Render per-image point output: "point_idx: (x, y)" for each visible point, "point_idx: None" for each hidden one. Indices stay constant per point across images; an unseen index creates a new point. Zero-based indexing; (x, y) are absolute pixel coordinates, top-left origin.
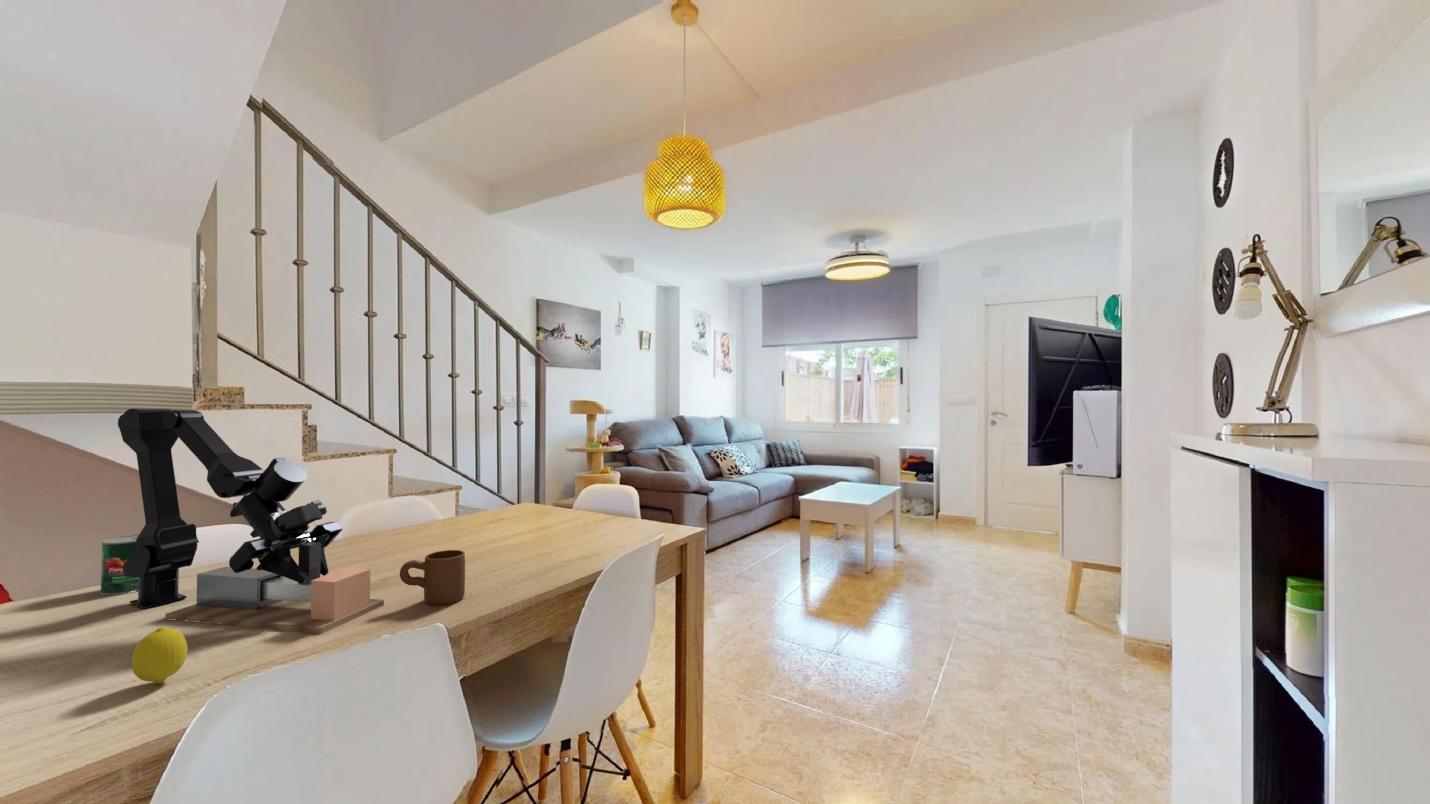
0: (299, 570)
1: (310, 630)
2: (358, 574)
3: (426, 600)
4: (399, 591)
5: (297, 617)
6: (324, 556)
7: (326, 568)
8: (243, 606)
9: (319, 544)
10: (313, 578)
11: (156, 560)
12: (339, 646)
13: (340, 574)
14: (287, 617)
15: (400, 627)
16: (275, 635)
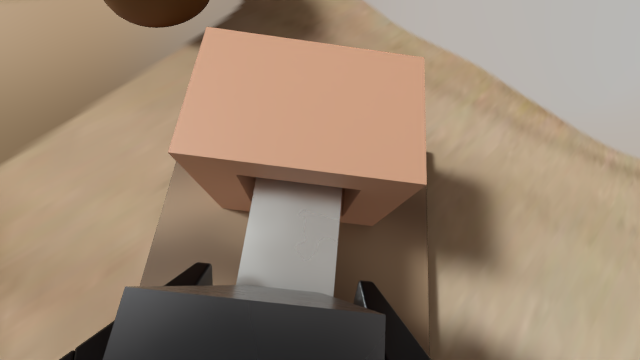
0: (391, 331)
1: None
2: (283, 42)
3: (200, 2)
4: (49, 147)
5: None
6: (86, 346)
7: (191, 274)
8: None
9: (173, 288)
10: (292, 290)
11: None
12: (468, 64)
13: (307, 108)
14: None
15: (353, 5)
16: (457, 270)
